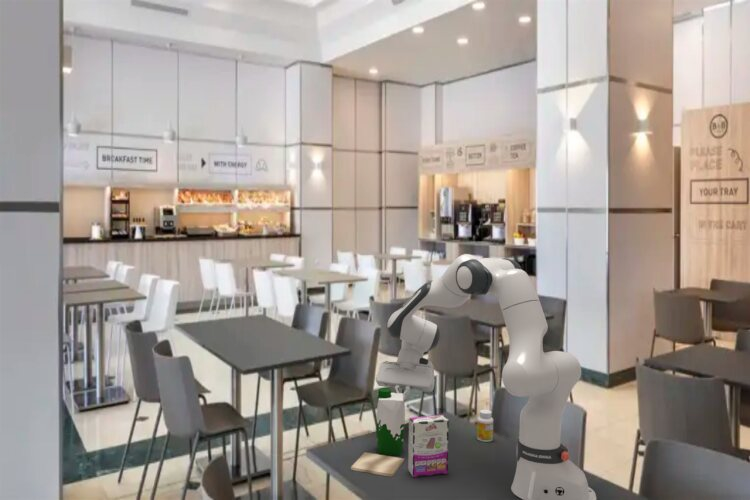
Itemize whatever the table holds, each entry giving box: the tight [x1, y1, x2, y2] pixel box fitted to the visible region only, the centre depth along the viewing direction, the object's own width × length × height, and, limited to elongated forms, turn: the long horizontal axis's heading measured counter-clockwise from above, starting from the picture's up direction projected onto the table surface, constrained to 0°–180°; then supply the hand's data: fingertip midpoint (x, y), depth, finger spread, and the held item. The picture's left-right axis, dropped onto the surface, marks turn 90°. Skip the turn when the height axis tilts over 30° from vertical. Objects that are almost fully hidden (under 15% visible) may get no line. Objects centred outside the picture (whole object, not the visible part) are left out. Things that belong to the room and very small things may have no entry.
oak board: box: [350, 452, 405, 478], centre depth 183 cm, size 13×12×1 cm
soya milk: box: [375, 387, 406, 456], centre depth 194 cm, size 9×9×20 cm
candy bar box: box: [407, 414, 450, 478], centre depth 178 cm, size 11×5×16 cm, turn 105°
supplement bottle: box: [476, 409, 494, 443], centre depth 206 cm, size 5×5×10 cm
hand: (400, 398), depth 203 cm, fingers closed
